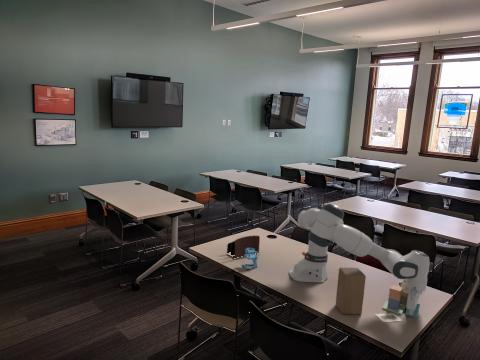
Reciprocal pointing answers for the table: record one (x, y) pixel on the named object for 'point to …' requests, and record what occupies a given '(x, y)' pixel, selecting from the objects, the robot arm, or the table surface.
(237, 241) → the letter holder
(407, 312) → the teal cube
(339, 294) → the wooden block
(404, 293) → the block tower
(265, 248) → the table surface
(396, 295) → the orange cube
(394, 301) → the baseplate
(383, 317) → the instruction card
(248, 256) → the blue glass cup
